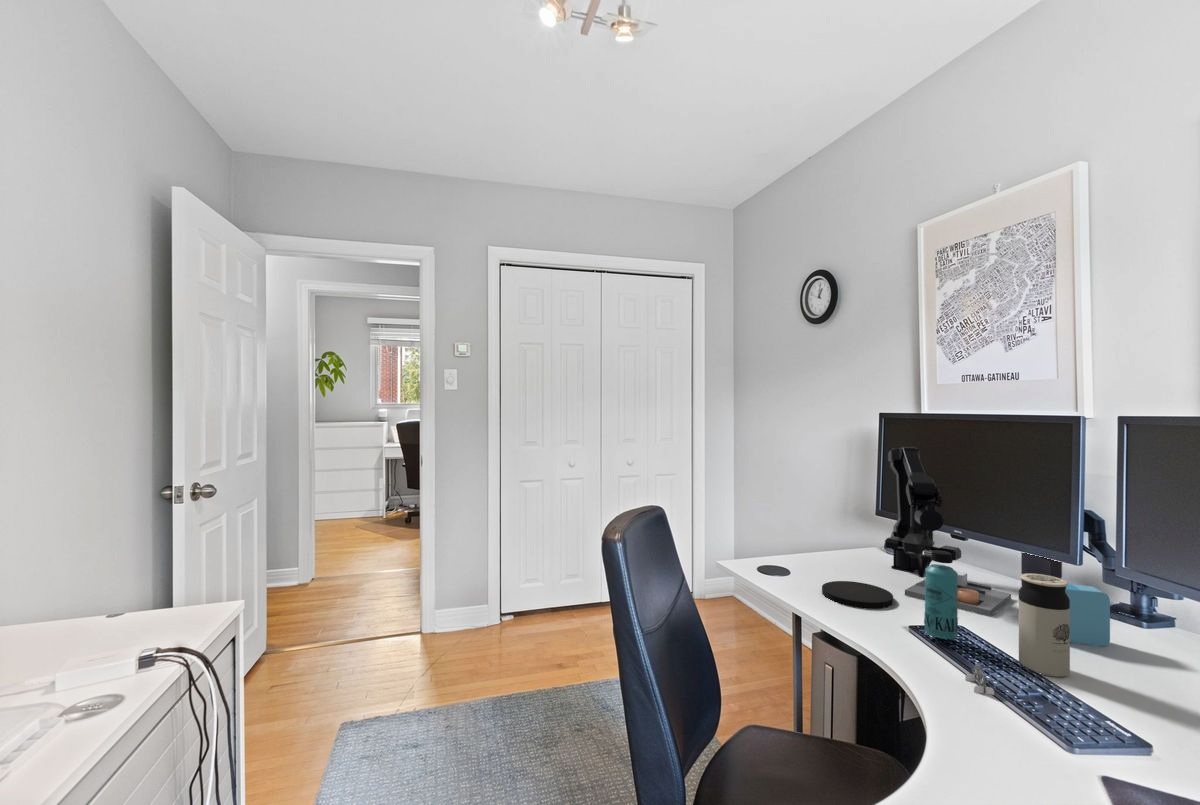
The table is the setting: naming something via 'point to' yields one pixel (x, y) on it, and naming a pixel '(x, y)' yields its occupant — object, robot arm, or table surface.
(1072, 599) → the data package
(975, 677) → the grey lobed figure
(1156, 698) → the table surface
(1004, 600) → the grey railed board
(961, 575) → the white cube
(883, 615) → the table surface
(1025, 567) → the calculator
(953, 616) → the beverage bottle
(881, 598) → the wireless charger
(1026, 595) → the travel mug
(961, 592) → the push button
